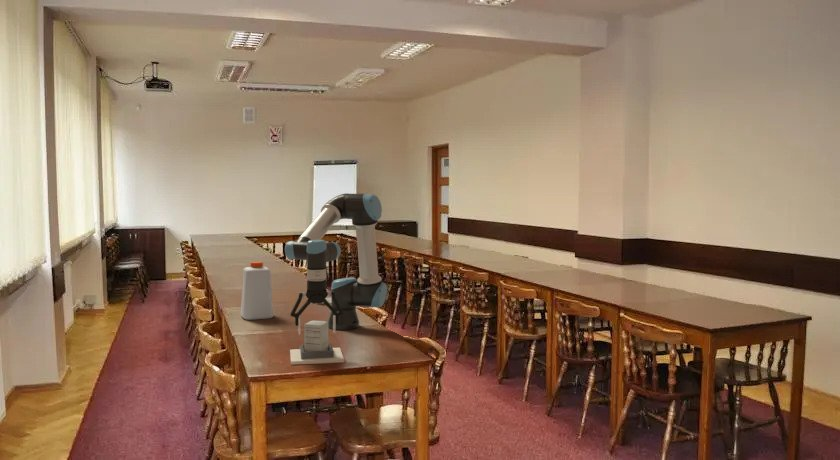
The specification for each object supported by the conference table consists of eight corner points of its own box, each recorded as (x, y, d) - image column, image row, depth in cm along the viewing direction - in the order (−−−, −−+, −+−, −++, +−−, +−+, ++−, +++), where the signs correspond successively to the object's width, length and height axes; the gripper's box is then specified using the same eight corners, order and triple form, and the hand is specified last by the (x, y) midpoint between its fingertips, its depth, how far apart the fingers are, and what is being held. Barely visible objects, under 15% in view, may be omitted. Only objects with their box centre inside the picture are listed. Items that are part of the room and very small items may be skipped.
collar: (299, 350, 260) (299, 344, 260) (331, 349, 263) (331, 343, 263) (301, 359, 248) (301, 352, 248) (333, 357, 251) (333, 351, 251)
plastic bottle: (244, 321, 320) (243, 264, 318) (239, 315, 334) (239, 261, 332) (274, 318, 326) (274, 263, 324) (269, 313, 340) (268, 260, 338)
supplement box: (311, 351, 260) (311, 320, 259) (328, 352, 258) (329, 321, 257) (303, 355, 253) (303, 323, 252) (321, 357, 251) (321, 325, 250)
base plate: (290, 352, 262) (290, 349, 262) (339, 350, 266) (339, 347, 266) (291, 364, 245) (291, 361, 244) (344, 362, 249) (344, 359, 249)
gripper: (284, 282, 247) (284, 336, 249) (349, 280, 252) (349, 333, 254) (283, 278, 254) (284, 332, 256) (347, 277, 260) (347, 329, 262)
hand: (317, 333), depth 255 cm, fingers open, 13 cm apart
